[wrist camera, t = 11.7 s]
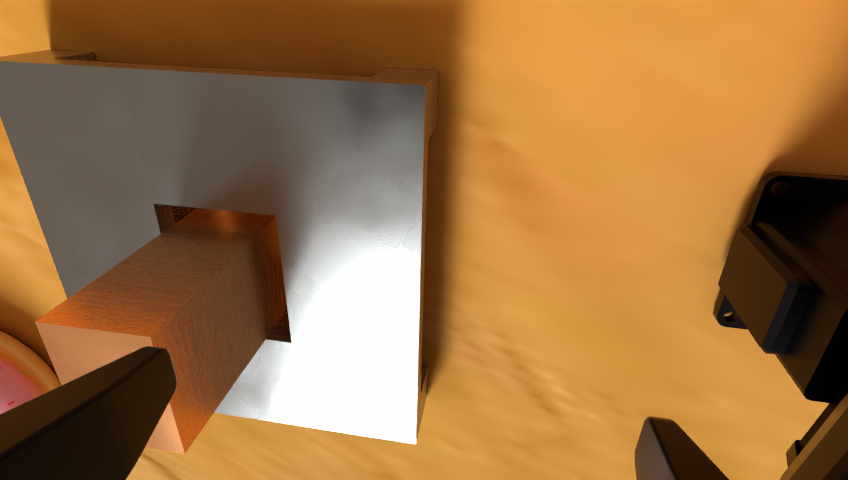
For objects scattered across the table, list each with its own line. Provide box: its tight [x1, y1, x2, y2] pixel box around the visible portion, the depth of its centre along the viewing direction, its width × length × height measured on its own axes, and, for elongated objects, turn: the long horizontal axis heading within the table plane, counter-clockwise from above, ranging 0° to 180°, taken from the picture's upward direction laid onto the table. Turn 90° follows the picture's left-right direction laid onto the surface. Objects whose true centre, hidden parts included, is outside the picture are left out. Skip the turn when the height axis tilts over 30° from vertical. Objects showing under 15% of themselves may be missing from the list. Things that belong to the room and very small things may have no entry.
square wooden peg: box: [35, 208, 287, 454], centre depth 19 cm, size 4×4×10 cm
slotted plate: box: [0, 50, 439, 444], centre depth 21 cm, size 16×16×3 cm
